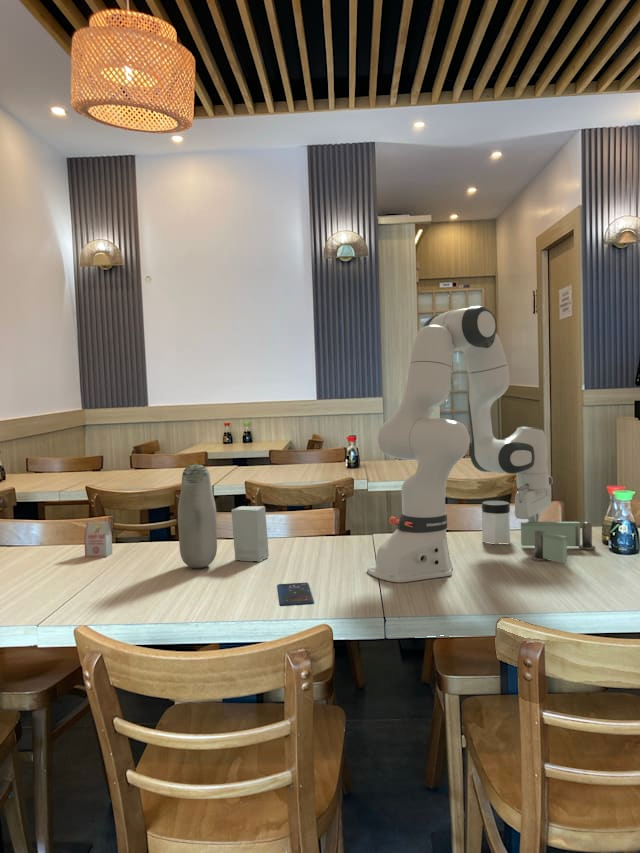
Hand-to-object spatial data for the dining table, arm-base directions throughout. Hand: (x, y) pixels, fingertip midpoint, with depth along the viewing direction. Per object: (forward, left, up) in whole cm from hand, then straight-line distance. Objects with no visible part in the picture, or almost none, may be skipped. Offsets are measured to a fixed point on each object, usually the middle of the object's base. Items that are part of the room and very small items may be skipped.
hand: (533, 528), depth 181 cm
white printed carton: (-109, +69, -5) cm, 129 cm away
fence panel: (-11, -16, -5) cm, 20 cm away
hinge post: (+9, -11, -5) cm, 15 cm away
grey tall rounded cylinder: (-89, +38, -5) cm, 97 cm away
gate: (+1, -5, -4) cm, 6 cm away
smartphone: (-79, +2, -6) cm, 79 cm away
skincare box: (-74, +37, -5) cm, 83 cm away
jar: (-5, +10, -5) cm, 12 cm away
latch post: (-11, -11, -5) cm, 17 cm away
